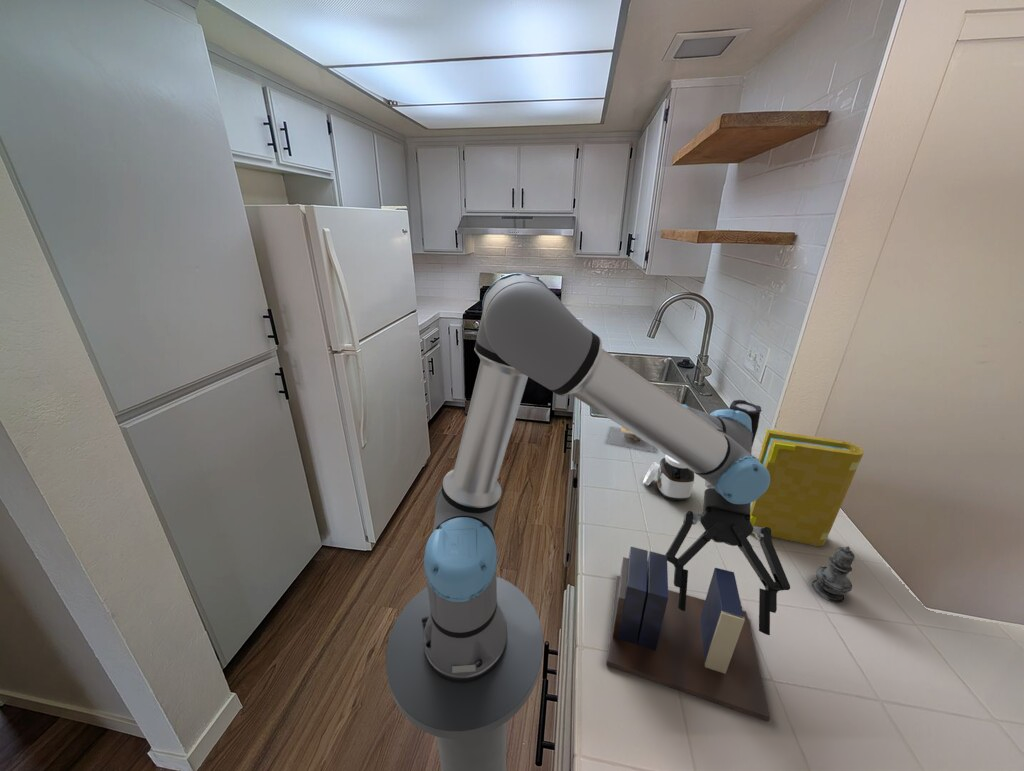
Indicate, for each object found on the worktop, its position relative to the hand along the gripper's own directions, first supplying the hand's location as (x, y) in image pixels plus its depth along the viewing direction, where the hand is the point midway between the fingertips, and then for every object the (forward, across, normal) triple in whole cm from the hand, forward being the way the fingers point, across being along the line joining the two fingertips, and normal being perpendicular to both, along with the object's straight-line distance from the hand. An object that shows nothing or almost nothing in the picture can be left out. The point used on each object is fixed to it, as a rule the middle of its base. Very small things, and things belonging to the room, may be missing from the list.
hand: (721, 621), depth 64 cm
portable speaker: (-41, -12, -52) cm, 67 cm away
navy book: (+4, 0, -4) cm, 6 cm away
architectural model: (-43, +18, -54) cm, 71 cm away
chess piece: (-9, -24, -20) cm, 32 cm away
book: (-20, -19, -31) cm, 42 cm away
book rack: (+5, +6, -5) cm, 9 cm away
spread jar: (-26, +8, -36) cm, 45 cm away
